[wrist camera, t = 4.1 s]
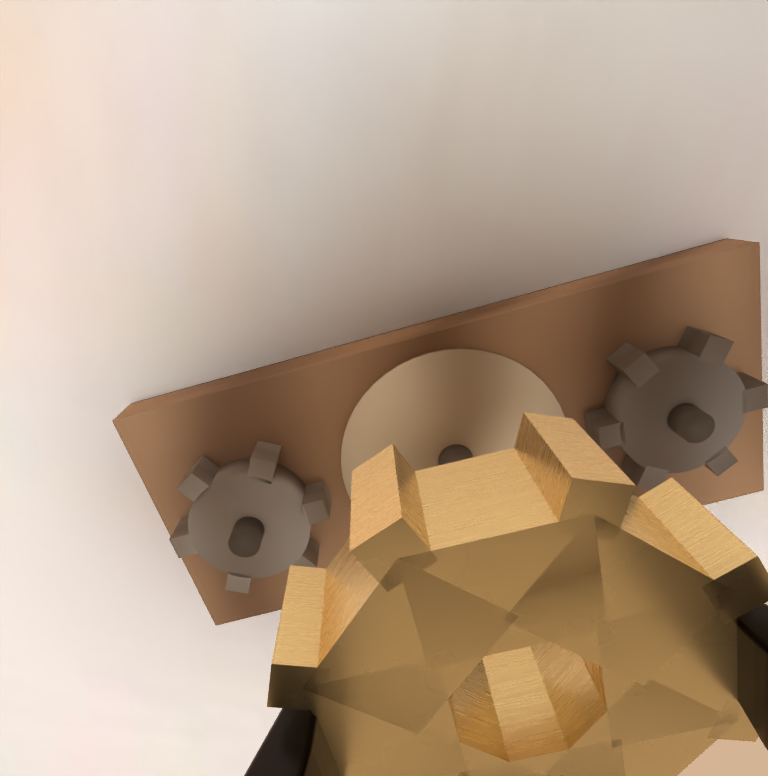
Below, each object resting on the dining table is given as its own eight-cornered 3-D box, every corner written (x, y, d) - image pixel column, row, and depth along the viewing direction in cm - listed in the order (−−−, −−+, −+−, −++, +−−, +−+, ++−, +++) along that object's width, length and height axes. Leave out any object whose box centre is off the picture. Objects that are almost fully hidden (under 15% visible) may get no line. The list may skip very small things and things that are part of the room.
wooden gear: (685, 373, 8) (785, 428, 6) (699, 700, 11) (773, 811, 9) (237, 480, 8) (202, 563, 6) (353, 773, 11) (352, 895, 9)
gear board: (727, 238, 17) (881, 258, 12) (736, 469, 20) (861, 563, 15) (131, 403, 19) (42, 485, 13) (225, 597, 22) (182, 723, 17)
